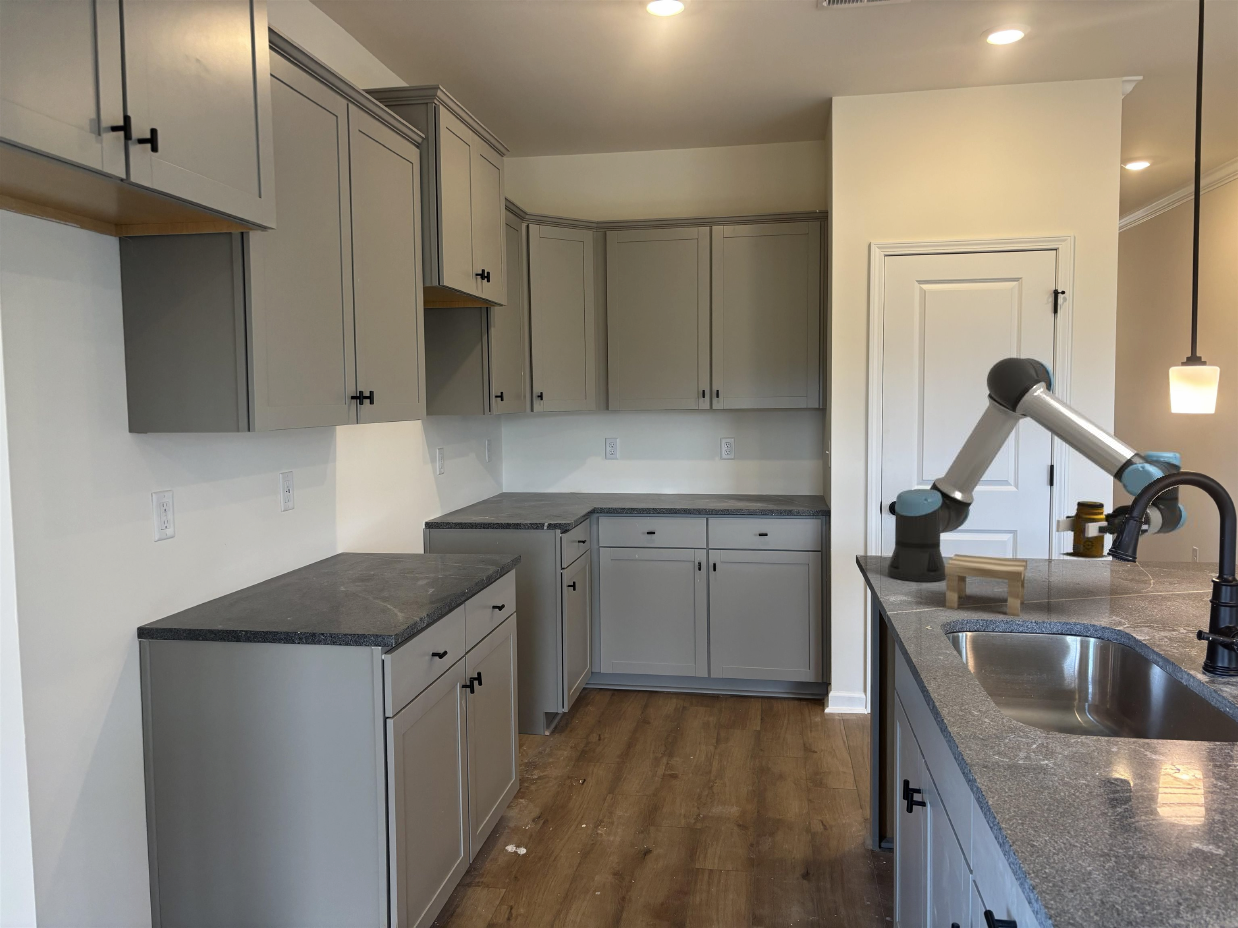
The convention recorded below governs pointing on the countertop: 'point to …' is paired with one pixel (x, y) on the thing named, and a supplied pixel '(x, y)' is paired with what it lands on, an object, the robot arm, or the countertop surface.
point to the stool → (985, 569)
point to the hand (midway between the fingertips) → (1072, 528)
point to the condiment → (1081, 543)
